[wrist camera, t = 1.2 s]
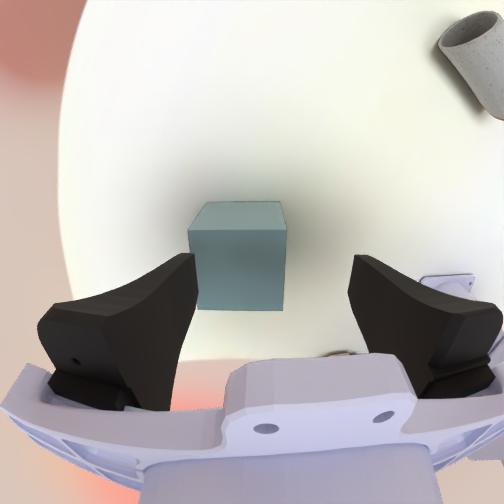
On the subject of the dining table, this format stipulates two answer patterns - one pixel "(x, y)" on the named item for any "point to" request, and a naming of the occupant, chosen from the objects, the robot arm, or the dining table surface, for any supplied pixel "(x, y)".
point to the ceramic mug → (479, 57)
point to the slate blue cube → (239, 255)
